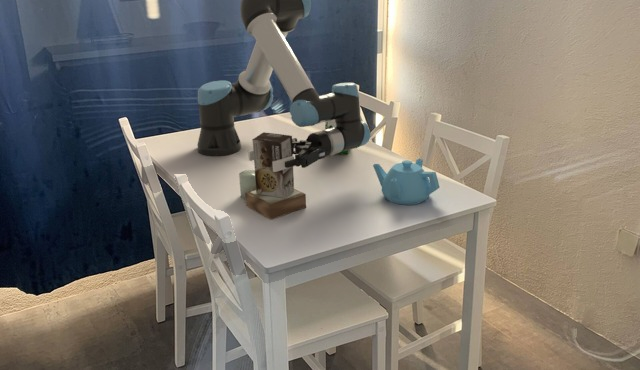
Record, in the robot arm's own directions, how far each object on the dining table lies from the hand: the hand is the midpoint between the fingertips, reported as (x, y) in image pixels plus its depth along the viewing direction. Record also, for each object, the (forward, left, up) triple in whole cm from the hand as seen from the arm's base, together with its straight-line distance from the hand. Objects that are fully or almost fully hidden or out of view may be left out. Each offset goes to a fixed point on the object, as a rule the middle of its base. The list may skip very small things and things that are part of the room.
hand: (260, 161), depth 169 cm
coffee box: (0, +4, -10) cm, 11 cm away
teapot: (+19, +36, -15) cm, 43 cm away
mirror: (0, +4, -14) cm, 15 cm away
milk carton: (-24, +48, -15) cm, 56 cm away
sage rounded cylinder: (-11, +3, -14) cm, 18 cm away
